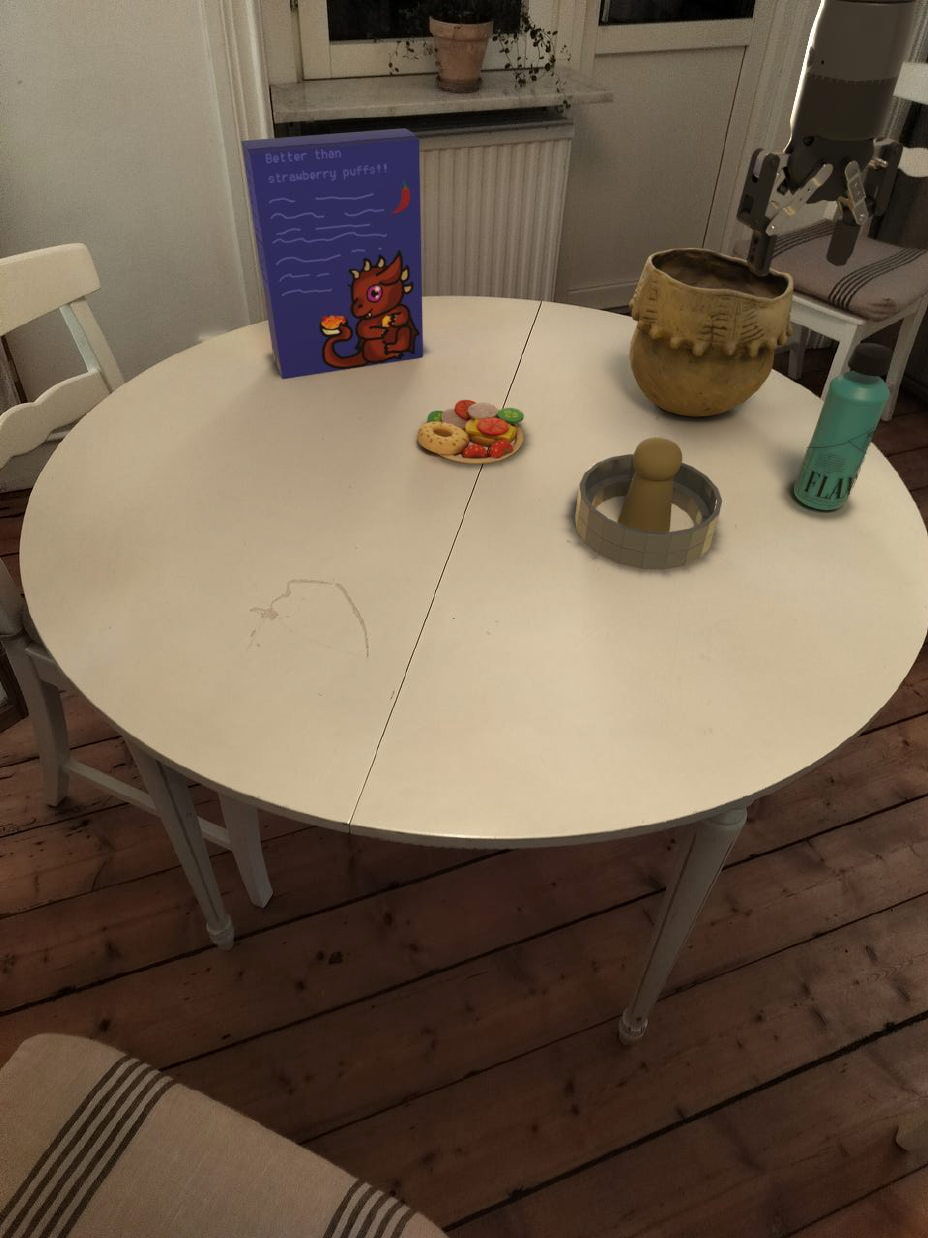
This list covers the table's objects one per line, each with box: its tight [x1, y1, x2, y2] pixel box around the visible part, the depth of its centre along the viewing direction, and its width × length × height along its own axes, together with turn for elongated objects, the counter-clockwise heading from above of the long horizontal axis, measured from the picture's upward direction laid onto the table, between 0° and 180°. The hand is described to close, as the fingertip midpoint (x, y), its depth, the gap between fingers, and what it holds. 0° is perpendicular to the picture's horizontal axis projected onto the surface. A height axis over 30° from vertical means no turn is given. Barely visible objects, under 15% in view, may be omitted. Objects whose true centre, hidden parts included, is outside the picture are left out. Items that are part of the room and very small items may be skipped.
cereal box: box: [240, 127, 424, 380], centre depth 116 cm, size 22×6×30 cm, turn 111°
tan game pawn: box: [617, 437, 683, 532], centre depth 92 cm, size 6×6×11 cm
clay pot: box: [628, 247, 794, 418], centre depth 111 cm, size 21×21×20 cm
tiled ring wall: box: [574, 453, 723, 571], centre depth 95 cm, size 16×16×6 cm
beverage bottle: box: [793, 342, 894, 511], centre depth 94 cm, size 6×7×20 cm
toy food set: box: [416, 399, 525, 465], centre depth 109 cm, size 13×13×3 cm
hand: (797, 268), depth 79 cm, fingers open, 8 cm apart
